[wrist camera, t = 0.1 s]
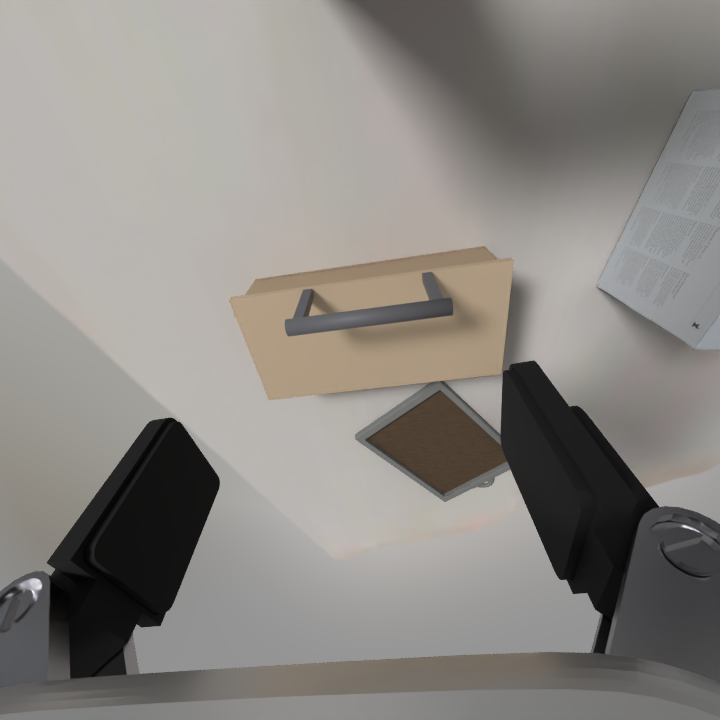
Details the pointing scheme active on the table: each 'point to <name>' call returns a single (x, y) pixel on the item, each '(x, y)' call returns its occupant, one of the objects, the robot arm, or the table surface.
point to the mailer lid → (379, 330)
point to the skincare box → (677, 233)
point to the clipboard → (438, 442)
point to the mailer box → (371, 270)
